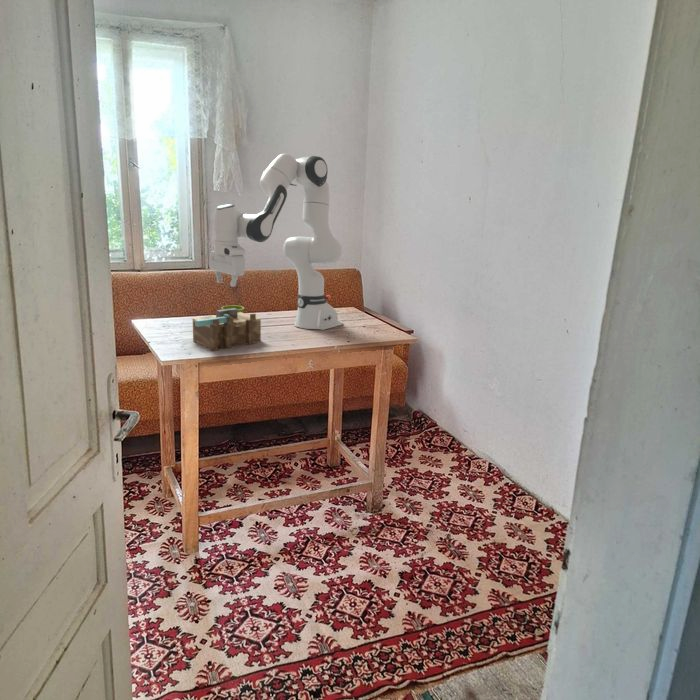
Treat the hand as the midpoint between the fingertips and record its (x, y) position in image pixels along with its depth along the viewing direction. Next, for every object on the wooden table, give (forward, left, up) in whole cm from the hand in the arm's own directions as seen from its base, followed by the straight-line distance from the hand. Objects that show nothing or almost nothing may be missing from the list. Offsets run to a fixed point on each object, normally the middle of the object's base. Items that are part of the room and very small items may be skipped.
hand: (226, 284), depth 230 cm
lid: (0, +1, -15) cm, 15 cm away
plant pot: (-14, -18, -23) cm, 32 cm away
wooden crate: (0, +2, -22) cm, 22 cm away
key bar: (+11, +8, -12) cm, 19 cm away
